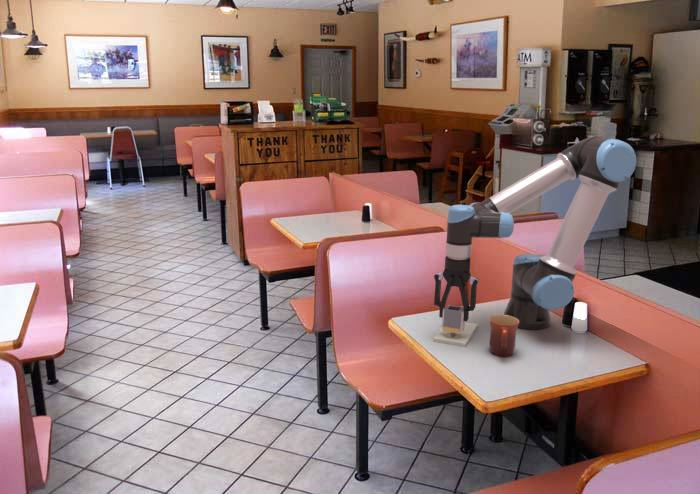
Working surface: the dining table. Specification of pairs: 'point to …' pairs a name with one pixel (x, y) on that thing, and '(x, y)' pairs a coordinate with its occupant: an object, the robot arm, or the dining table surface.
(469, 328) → the pin board
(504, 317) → the mug
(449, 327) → the sleeve
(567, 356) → the dining table surface
